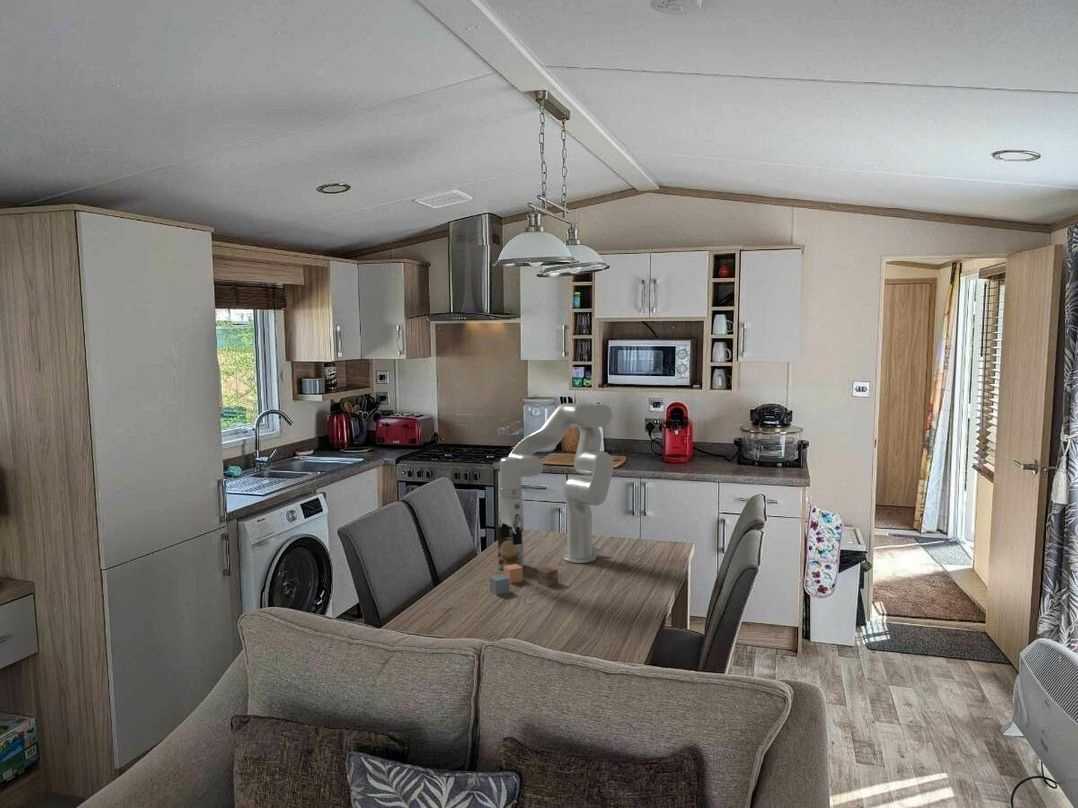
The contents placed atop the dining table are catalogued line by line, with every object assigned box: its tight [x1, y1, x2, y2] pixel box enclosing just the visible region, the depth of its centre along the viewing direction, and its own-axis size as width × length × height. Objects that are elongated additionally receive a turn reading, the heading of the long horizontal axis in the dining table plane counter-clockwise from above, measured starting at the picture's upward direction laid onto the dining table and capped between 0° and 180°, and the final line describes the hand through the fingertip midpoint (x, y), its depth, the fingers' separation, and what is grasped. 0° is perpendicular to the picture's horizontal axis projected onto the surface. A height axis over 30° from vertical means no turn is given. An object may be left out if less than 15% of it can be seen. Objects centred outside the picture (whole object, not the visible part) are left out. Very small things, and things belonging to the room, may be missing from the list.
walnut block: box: [537, 565, 559, 587], centre depth 262 cm, size 5×5×5 cm
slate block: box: [489, 573, 511, 596], centre depth 254 cm, size 5×5×5 cm
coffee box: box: [497, 522, 524, 570], centre depth 280 cm, size 9×6×16 cm
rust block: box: [503, 564, 524, 584], centre depth 265 cm, size 5×5×5 cm
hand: (510, 541), depth 264 cm, fingers open, 9 cm apart
